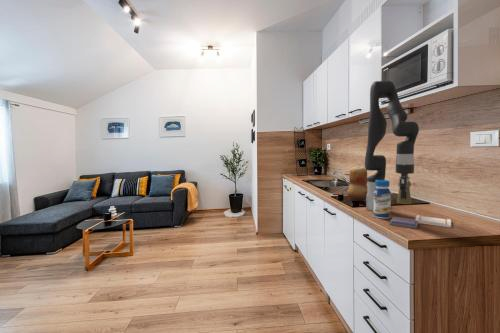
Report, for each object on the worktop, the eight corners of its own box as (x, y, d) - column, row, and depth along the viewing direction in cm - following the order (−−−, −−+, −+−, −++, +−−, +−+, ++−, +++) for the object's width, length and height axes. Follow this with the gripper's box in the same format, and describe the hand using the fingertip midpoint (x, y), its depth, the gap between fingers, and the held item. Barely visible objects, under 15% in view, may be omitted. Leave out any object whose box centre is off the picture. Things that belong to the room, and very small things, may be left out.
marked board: (414, 222, 120) (414, 220, 120) (416, 217, 129) (416, 215, 129) (451, 227, 111) (451, 225, 111) (450, 221, 120) (450, 219, 120)
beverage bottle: (389, 215, 133) (389, 179, 132) (392, 219, 125) (392, 181, 124) (372, 214, 136) (372, 179, 135) (373, 218, 128) (374, 181, 127)
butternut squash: (349, 203, 165) (349, 167, 164) (345, 199, 178) (346, 165, 177) (371, 203, 162) (371, 167, 161) (366, 199, 175) (366, 165, 174)
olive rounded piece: (395, 203, 117) (395, 180, 116) (398, 201, 121) (399, 179, 121) (409, 204, 113) (410, 181, 112) (412, 202, 117) (413, 180, 116)
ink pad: (389, 224, 117) (389, 220, 117) (392, 219, 125) (392, 216, 125) (416, 228, 110) (416, 224, 110) (418, 223, 118) (418, 219, 118)
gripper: (397, 162, 124) (397, 195, 125) (393, 164, 113) (392, 200, 114) (415, 162, 119) (414, 197, 120) (412, 164, 108) (411, 202, 109)
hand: (404, 198), depth 117 cm, fingers closed on olive rounded piece, 4 cm apart
